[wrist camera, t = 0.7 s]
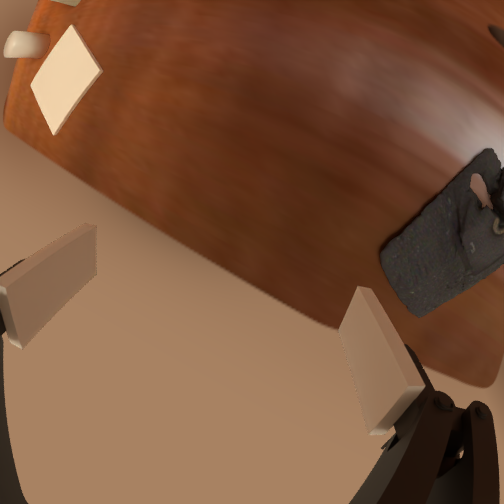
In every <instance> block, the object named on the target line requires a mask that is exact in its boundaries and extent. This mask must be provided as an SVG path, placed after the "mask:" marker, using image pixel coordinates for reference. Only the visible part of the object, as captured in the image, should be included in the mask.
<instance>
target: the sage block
mask: <svg viewBox="0 0 504 504" xmlns="http://www.w3.org/2000/svg"><path fill="white" fill-rule="evenodd" d="M52 1H56V2H60V3H64V4H68V5H71V6H75V7H76V5H77V4H78V3H79V2H80V1H81V0H52Z"/></svg>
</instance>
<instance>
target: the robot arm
mask: <svg viewBox="0 0 504 504" xmlns="http://www.w3.org/2000/svg"><path fill="white" fill-rule="evenodd" d="M96 234H97V226H95V225H91V224H87V223H84V224H82V225H81V226H79V227H77V228H75V229H74V230H72V231H70V232H69V233H67V234H65V235H63V236H62V237H60V238H58V239H57V240H55V241H53V242H52V243H50V244H49V245H47V246H45V247H44V248H42V249H41V250H39V251H37V252H36V253H34V254H33V255H31V256H30V257H28V258H26V259H23V260H20V261H19V262H18V263H16V264H14V265H13V267H10V268H9V269H7V271H4V272H3V273H1V274H0V504H28V503H27V501H26V500H25V498H24V496H23V493H22V490H21V487H20V483H19V480H18V476H17V472H16V468H15V463H14V459H13V454H12V449H11V445H10V438H9V432H8V425H7V417H6V408H5V398H4V397H5V396H4V379H3V338H2V336H1V335H2V334H3V333H4V332H5V331H6V332H7V335H8V338H9V341H10V343H12V344H14V345H15V346H17V347H19V348H20V349H23V348H24V347H25V346H26V345H27V344H28V343H29V342H30V341H31V340H32V339H33V337H34V336H35V335H36V334H37V333H38V332H39V331H40V330H41V329H42V328H43V327H44V326H45V325H46V324H47V322H49V321H50V319H51V318H52V317H53V316H54V315H55V314H56V313H57V312H58V311H59V310H60V309H61V308H62V307H63V306H64V305H65V304H66V303H67V302H68V301H69V300H70V299H71V298H72V297H73V296H74V295H75V294H76V293H78V292H79V290H81V289H82V288H83V287H84V286H85V285H86V284H87V283H88V282H89V281H90V280H91V279H92V278H93V277H94V276H95V275H96V274H97V270H96V269H97V268H96ZM338 332H339V335H340V338H341V341H342V345H343V348H344V351H345V354H346V358H347V361H348V364H349V368H350V371H351V374H352V378H353V381H354V385H355V388H356V392H357V395H358V399H359V403H360V406H361V410H362V413H363V417H364V421H365V425H366V429H367V432H368V435H381V434H382V435H383V434H386V433H387V432H388V430H389V429H390V428H391V427H392V426H393V425H394V427H395V430H396V433H395V434H394V435H393V436H392V437H391V438H390V439H389V440H388V441H387V442H386V443H385V444H384V445H383V446H382V447H381V449H384V448H385V447H386V448H385V450H384V451H383V453H382V455H381V456H380V458H379V460H378V461H377V463H376V465H375V466H374V468H373V469H372V471H371V472H370V474H369V476H368V477H367V479H366V480H365V482H364V483H363V485H362V486H361V487H360V489H359V490H358V492H357V493H356V495H355V496H354V497H353V499H352V500H351V501H350V503H349V504H499V497H500V496H499V495H500V492H499V465H498V453H497V444H496V436H495V429H494V423H493V416H492V413H491V411H490V409H489V407H488V406H487V405H485V404H484V403H482V402H480V401H473V402H472V403H471V404H470V405H469V406H468V407H467V409H462V408H458V407H455V404H454V402H453V400H452V399H451V398H450V397H449V396H448V395H447V394H445V393H443V392H441V391H435V389H434V388H433V386H432V384H431V382H430V380H429V378H428V376H427V374H426V373H425V370H424V369H423V367H422V365H421V363H420V362H419V359H418V358H417V356H416V354H415V352H414V351H413V350H412V349H411V348H410V347H409V346H408V345H407V344H403V342H402V340H401V339H400V337H399V335H398V333H397V332H396V330H395V328H394V326H393V325H392V323H391V321H390V319H389V318H388V316H387V314H386V313H385V311H384V309H383V307H382V306H381V304H380V302H379V301H378V299H377V297H376V296H375V294H374V293H373V291H372V289H370V288H365V287H361V286H358V287H357V289H356V291H355V294H354V296H353V299H352V301H351V303H350V305H349V308H348V310H347V312H346V315H345V317H344V319H343V321H342V323H341V326H340V328H339V330H338ZM463 450H464V453H463V456H462V458H460V452H461V451H463Z"/></svg>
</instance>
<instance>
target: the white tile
mask: <svg viewBox="0 0 504 504" xmlns="http://www.w3.org/2000/svg"><path fill="white" fill-rule="evenodd" d="M102 72H103V70H102V68H101V66H100V65H99V63H98V62H97V60H96V59H95V57H94V55H93V54H92V52H91V51H90V49H89V48H88V46H87V44H86V43H85V41H84V40H83V38H82V36H81V35H80V33H79V32H78V30H77V28H76V27H75V25H72V24H71V25H70V27H69V28H68V29H67V31H66V32H65V33H64V34H63V36H62V37H61V39H60V40H59V41H58V43H57V44H56V45H55V47H54V48H53V50H52V51H51V53H50V54H49V56H48V57H47V59H46V60H45V62H44V63H43V65H42V66H41V68H40V70H39V71H38V73H37V75H36V76H35V78H34V80H33V81H32V83H31V88H32V90H33V92H34V95H35V97H36V99H37V102H38V104H39V106H40V108H41V110H42V113H43V115H44V117H45V119H46V121H47V123H48V125H49V127H50V129H51V131H52V133H53V135H57V134H58V132H59V131H60V129H61V128H62V126H63V125H64V123H65V122H66V120H67V119H68V117H69V116H70V114H71V113H72V111H73V110H74V109H75V107H76V106H77V104H78V103H79V102H80V100H81V99H82V98H83V96H84V95H85V94H86V92H87V91H88V90H89V88H90V87H91V86H92V85H93V83H94V82H95V81H96V80H97V78H98V77H99V76H100V75H101V74H102Z"/></svg>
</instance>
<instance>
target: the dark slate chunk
mask: <svg viewBox="0 0 504 504" xmlns="http://www.w3.org/2000/svg"><path fill="white" fill-rule="evenodd" d="M501 171H502V173H501ZM498 172H499V173H498ZM473 173H478V174H480V175H481V176H482V178H483V181H484V182H485V184H486V187H487V192H488V194H490V195H492V196H491V201H492V204H493V206H494V207H493V210H492V209H491V210H490V208H489V207H488V206H487V205H486V206H485V207H484V208H482V203H481V201H480V200H479V199H478V197H477V195H476V194H475V193H474V192H473V191H472V189H471V188H470V182H471V176H472V174H473ZM380 259H381V266H382V268H383V270H384V272H385V274H386V276H387V278H388V280H389V283H390V285H391V286H392V288H393V289H394V290H395V291H396V293H397V295H398V297H399V299H400V300H401V301H402V303H403V304H405V305H406V306H408V307H407V309H408V310H409V311H410V312H411V313H412V314H414V315H416V316H417V317H418V318H420V317H422V316H424V315H426V314H428V313H429V312H431V311H433V310H434V309H436V308H437V307H438V306H440V305H441V304H442V303H444V302H447V301H449V300H450V299H452V298H454V297H455V296H457V295H458V294H460V293H462V292H464V291H465V290H467V289H469V288H471V287H472V286H474V285H475V284H476V283H478V282H479V281H480V280H482V279H485V278H486V277H487V276H488V275H490V274H491V273H492V272H494V271H496V270H497V269H498V268H499V267H500V266H501V265H502V264H504V168H503V170H502V169H501V162H500V160H498V158H497V155H496V153H494V150H493V149H492V148H491V149H485V150H484V152H483V153H482V154H480V155H478V156H477V157H476V159H475V161H473V162H472V163H471V164H470V165H469V166H468V167H467V168H466V169H465V170H464V171H463V172H461V173H460V174H459V175H458V176H457V177H456V178H455V180H454V181H452V182H450V184H449V185H448V186H447V188H446V189H444V190H443V192H442V193H441V194H439V195H438V196H437V198H436V199H435V200H434V201H433V202H431V203H430V204H429V205H428V206H427V207H426V208H425V209H424V210H423V212H421V215H420V216H418V217H416V218H415V219H414V220H413V221H412V223H411V224H410V225H409V226H408V227H407V228H405V229H404V231H403V232H402V233H401V234H400V235H399V236H397V237H395V238H394V239H392V240H391V241H390V242H389V243H388V244H387V245H386V247H385V248H384V249H383V250H382V252H381V253H380Z"/></svg>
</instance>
